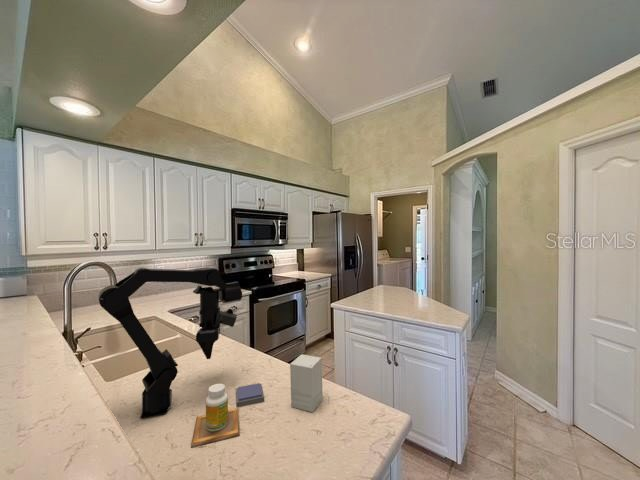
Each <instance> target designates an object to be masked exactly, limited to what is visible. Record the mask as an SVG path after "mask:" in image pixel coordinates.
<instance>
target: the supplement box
mask: <svg viewBox="0 0 640 480" xmlns="http://www.w3.org/2000/svg"><path fill="white" fill-rule="evenodd" d="M322 360H323V359H322V357H320V356H313V355H307V354H300V355H299V356H298V357H297V358H295V359H294V360H293V361H292V362H291V363H289V369H290V370H289V371H290V373H289V374H290V402H291V403H290V405H291V406H290V407H291V408H295V409H299V410H303V411H306V412H311V413H313V412H315V411H316V409H317V407H318V406H319V404H321V402H322V400H323V398H324V396H323V393H324V392H323V365H322V364H323V361H322Z"/></svg>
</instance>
